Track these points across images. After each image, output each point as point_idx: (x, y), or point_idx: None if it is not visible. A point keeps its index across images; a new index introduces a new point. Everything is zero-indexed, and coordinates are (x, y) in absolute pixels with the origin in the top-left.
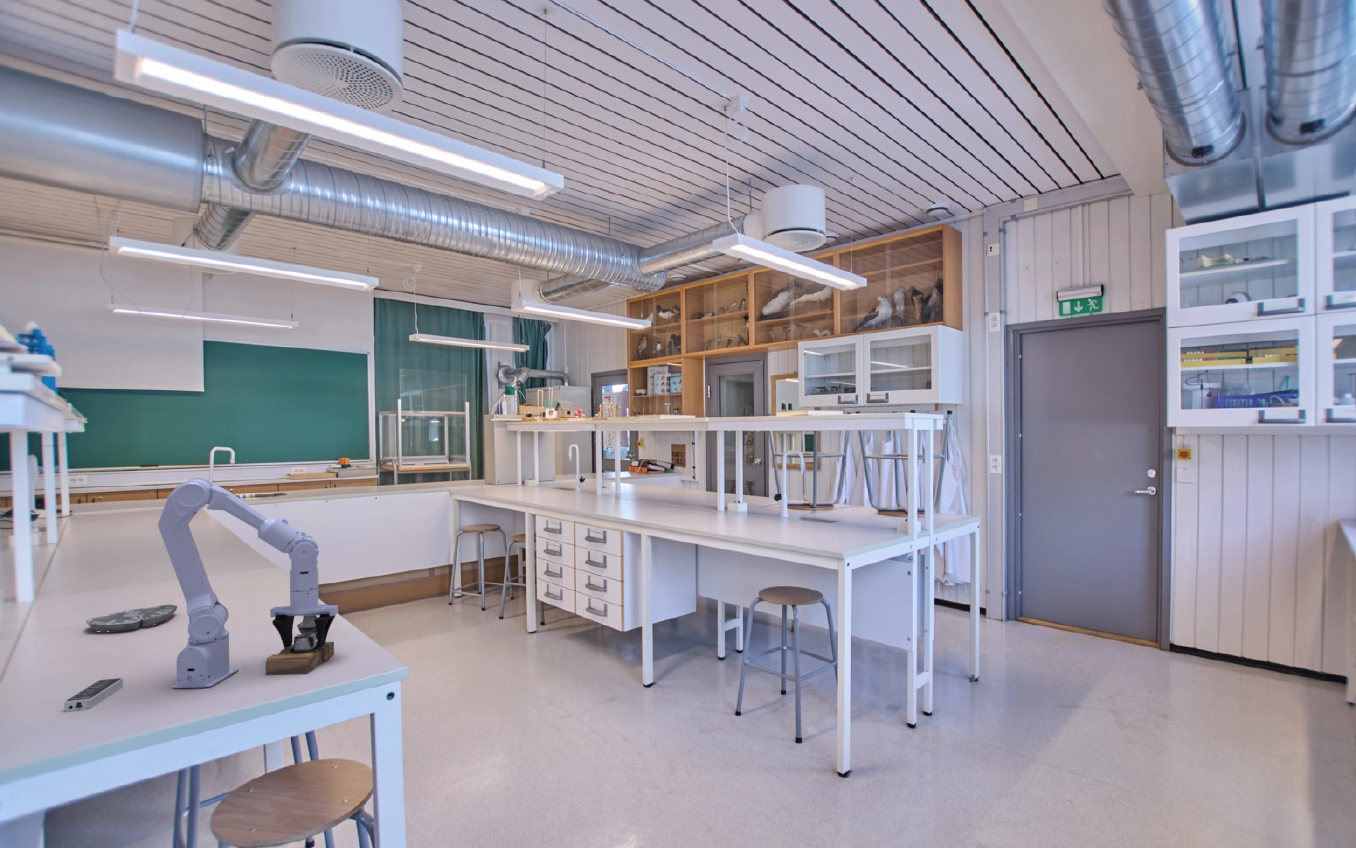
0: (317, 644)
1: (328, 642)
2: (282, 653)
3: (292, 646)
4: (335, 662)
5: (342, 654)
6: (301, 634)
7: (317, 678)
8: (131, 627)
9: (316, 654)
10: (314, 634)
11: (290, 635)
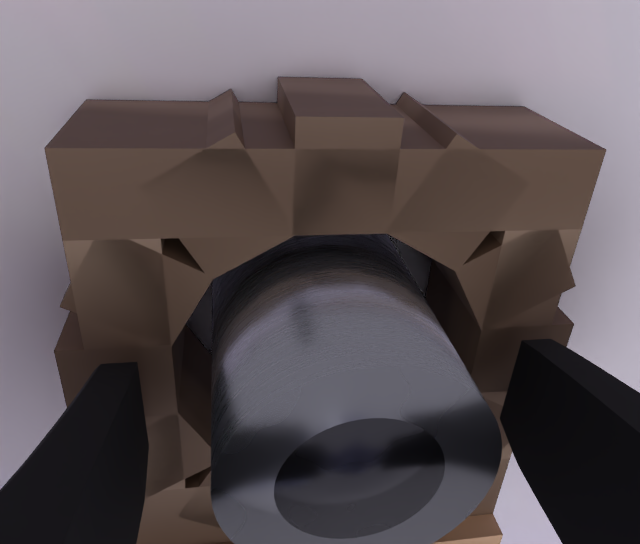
0: (516, 452)
1: (543, 176)
2: (158, 483)
3: (114, 298)
4: (578, 307)
5: (608, 116)
6: (268, 442)
7: (523, 524)
8: None
9: (503, 469)
10: (480, 431)
11: (108, 495)
